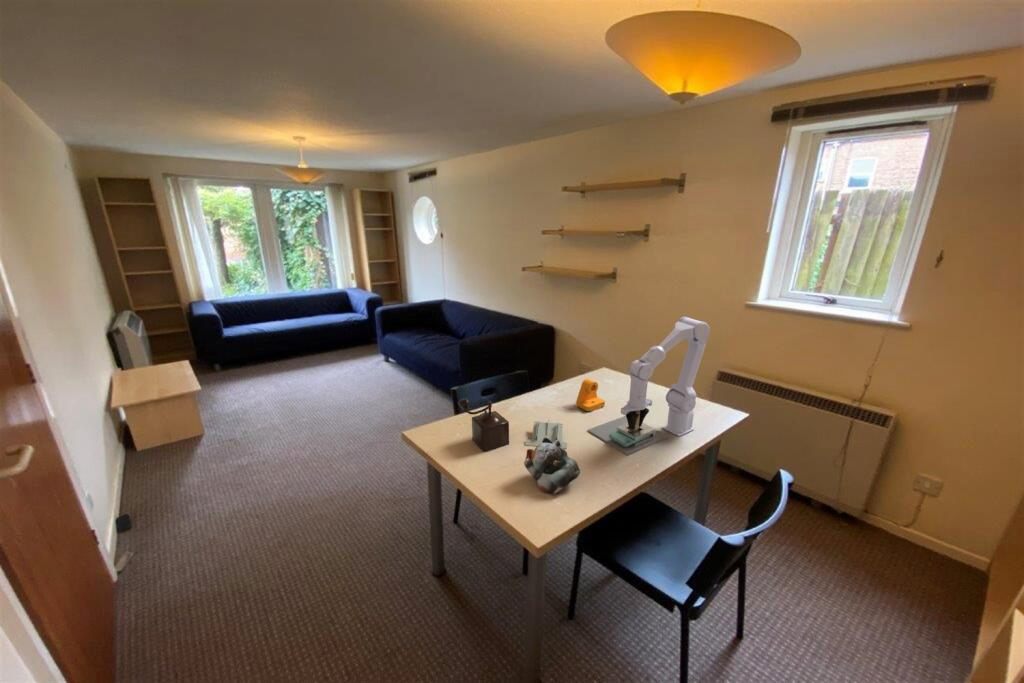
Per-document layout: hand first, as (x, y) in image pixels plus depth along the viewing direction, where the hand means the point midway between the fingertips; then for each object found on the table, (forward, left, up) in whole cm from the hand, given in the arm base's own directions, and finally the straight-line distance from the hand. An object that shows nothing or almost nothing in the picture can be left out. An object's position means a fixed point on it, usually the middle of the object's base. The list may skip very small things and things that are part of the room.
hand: (634, 427), depth 146 cm
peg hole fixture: (+1, 0, -5) cm, 5 cm away
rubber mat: (-1, -4, -5) cm, 7 cm away
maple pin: (0, 0, -2) cm, 2 cm away
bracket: (-6, -29, -6) cm, 30 cm away
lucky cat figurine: (+41, +3, -6) cm, 41 cm away
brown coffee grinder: (+48, -28, -6) cm, 56 cm away
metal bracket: (+26, -18, -6) cm, 33 cm away
